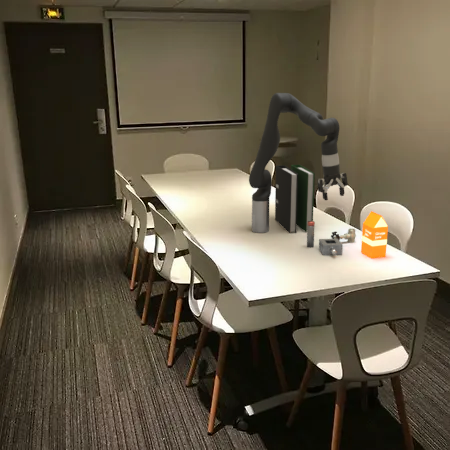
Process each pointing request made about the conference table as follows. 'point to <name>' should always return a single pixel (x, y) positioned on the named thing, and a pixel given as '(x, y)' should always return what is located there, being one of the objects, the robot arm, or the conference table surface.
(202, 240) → the conference table surface
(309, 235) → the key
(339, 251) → the grey box
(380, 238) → the orange juice
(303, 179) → the binder
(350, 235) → the valve
